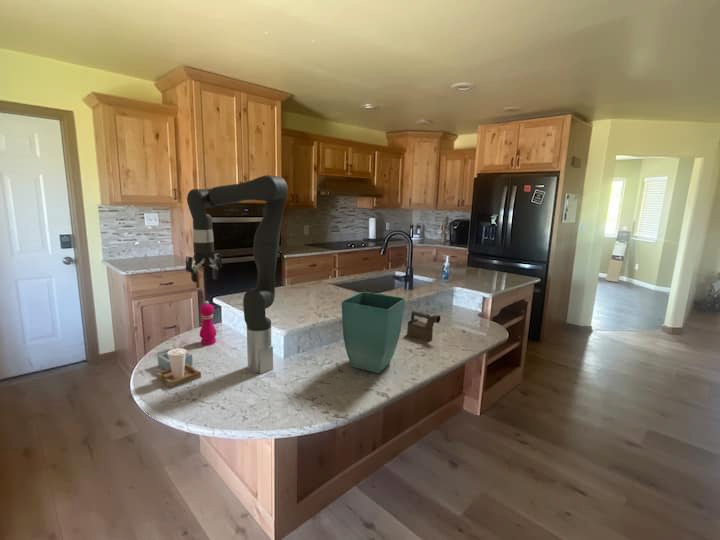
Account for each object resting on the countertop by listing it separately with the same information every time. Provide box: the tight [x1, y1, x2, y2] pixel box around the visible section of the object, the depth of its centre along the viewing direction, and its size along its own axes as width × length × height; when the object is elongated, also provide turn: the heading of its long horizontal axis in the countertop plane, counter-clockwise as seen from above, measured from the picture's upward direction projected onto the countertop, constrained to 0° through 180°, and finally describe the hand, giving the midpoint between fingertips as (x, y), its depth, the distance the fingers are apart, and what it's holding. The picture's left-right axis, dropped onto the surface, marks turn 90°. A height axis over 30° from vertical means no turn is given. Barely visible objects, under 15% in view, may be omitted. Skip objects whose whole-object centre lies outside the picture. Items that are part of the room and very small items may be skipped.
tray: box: [156, 364, 202, 389], centre depth 139 cm, size 11×11×2 cm
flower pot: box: [341, 291, 406, 374], centre depth 154 cm, size 20×20×28 cm
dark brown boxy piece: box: [406, 310, 441, 341], centre depth 188 cm, size 8×16×13 cm, turn 46°
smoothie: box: [166, 340, 188, 378], centre depth 137 cm, size 6×6×14 cm
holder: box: [157, 351, 194, 371], centre depth 149 cm, size 9×9×4 cm
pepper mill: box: [199, 300, 218, 346], centre depth 170 cm, size 7×7×20 cm
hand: (205, 280), depth 151 cm, fingers open, 8 cm apart
